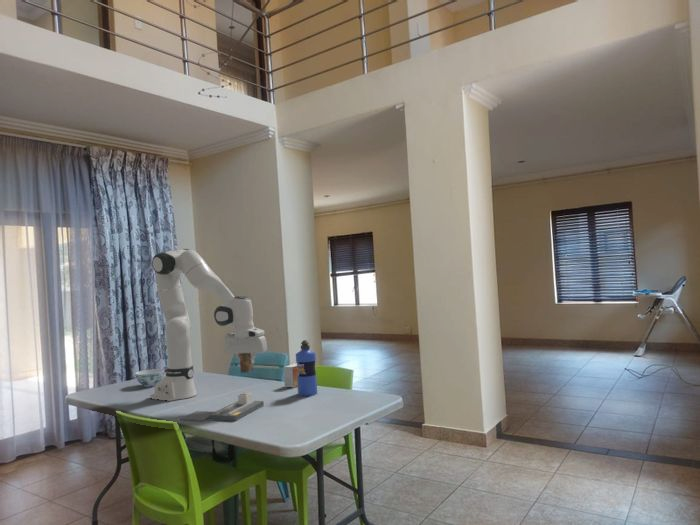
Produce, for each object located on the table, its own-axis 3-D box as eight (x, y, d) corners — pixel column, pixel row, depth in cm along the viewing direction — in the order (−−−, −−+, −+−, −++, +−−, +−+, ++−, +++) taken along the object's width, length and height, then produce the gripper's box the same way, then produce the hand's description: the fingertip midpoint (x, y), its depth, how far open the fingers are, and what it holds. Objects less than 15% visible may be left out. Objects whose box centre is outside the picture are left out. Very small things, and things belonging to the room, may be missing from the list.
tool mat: (179, 420, 198) (179, 418, 198) (197, 412, 209) (196, 410, 209) (202, 421, 195) (202, 419, 195) (219, 413, 205) (218, 411, 205)
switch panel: (209, 419, 196) (209, 412, 196) (239, 404, 217) (239, 398, 217) (235, 421, 192) (235, 413, 193) (263, 405, 213) (263, 399, 213)
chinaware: (170, 384, 269) (169, 370, 269) (143, 390, 258) (143, 375, 258) (156, 381, 279) (155, 367, 279) (130, 387, 267) (129, 373, 268)
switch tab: (238, 404, 209) (238, 394, 209) (243, 402, 213) (243, 391, 213) (246, 404, 208) (246, 394, 208) (251, 402, 212) (251, 392, 212)
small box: (293, 388, 243) (292, 367, 243) (284, 387, 246) (283, 366, 246) (303, 384, 250) (302, 364, 250) (294, 384, 253) (293, 363, 253)
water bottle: (308, 390, 237) (306, 338, 237) (321, 393, 230) (318, 339, 231) (293, 394, 230) (290, 341, 231) (306, 397, 224) (303, 342, 224)
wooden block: (240, 372, 217) (239, 354, 217) (245, 370, 221) (244, 352, 221) (248, 372, 216) (247, 354, 216) (253, 370, 220) (252, 352, 220)
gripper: (220, 334, 219) (222, 364, 219) (260, 332, 212) (262, 364, 212) (228, 332, 225) (231, 362, 225) (267, 330, 218) (270, 361, 218)
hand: (246, 363), depth 219 cm, fingers closed on wooden block, 4 cm apart
